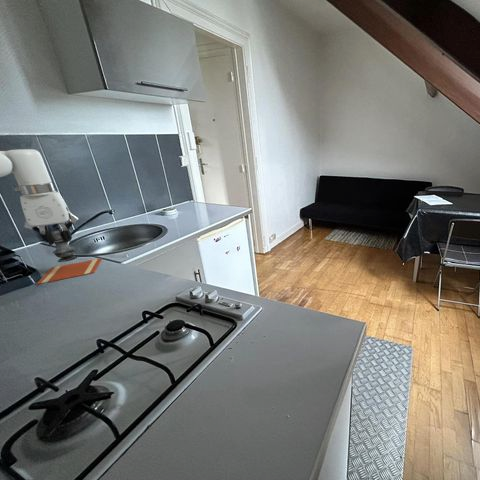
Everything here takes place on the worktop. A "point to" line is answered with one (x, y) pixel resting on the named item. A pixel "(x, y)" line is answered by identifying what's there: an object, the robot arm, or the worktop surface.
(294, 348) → the worktop surface
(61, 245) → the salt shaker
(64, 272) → the towel
